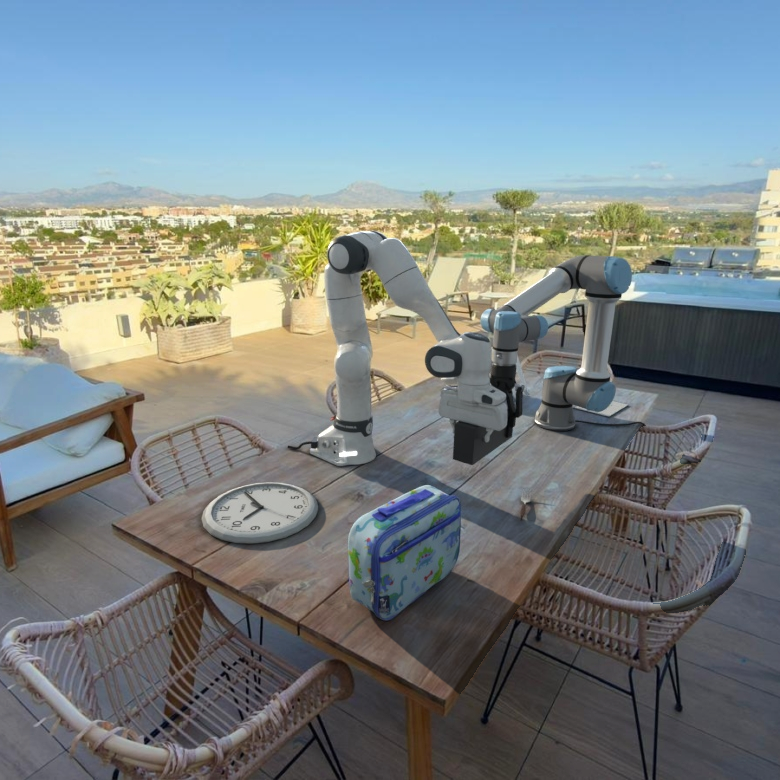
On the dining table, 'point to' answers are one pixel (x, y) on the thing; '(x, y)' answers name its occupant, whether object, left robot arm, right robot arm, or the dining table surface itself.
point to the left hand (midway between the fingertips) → (470, 437)
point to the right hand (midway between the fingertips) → (498, 433)
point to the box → (475, 441)
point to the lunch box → (403, 549)
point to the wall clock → (259, 513)
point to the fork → (525, 500)
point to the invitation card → (608, 409)
